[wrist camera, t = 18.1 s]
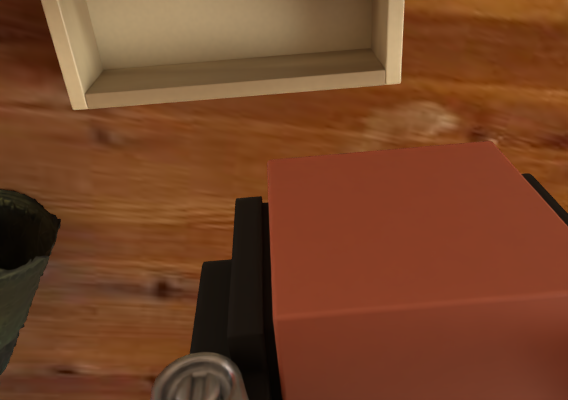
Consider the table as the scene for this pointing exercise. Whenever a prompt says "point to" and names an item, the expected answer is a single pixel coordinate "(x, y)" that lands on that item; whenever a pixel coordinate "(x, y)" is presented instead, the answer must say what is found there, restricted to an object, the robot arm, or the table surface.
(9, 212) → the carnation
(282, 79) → the cream open box
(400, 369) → the block
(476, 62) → the table surface
